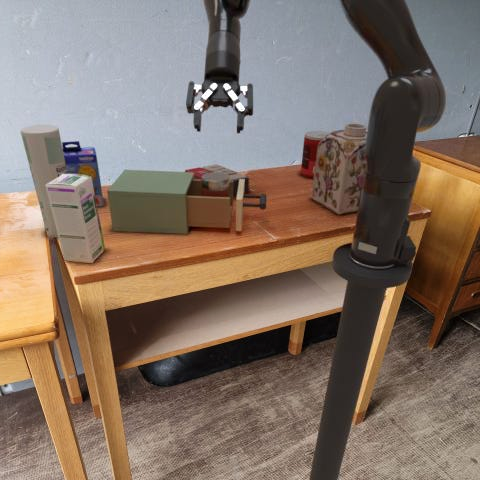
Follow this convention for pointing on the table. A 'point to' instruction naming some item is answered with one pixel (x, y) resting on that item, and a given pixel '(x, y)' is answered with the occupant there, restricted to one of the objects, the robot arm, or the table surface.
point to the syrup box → (76, 217)
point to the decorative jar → (341, 169)
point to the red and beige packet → (217, 168)
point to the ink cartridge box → (84, 165)
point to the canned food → (311, 152)
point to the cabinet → (150, 201)
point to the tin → (215, 185)
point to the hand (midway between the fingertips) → (218, 130)
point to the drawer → (218, 206)
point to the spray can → (44, 165)
